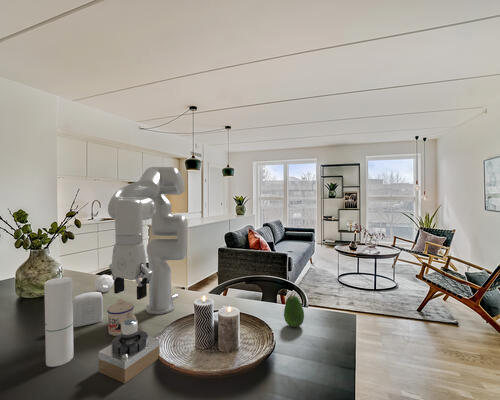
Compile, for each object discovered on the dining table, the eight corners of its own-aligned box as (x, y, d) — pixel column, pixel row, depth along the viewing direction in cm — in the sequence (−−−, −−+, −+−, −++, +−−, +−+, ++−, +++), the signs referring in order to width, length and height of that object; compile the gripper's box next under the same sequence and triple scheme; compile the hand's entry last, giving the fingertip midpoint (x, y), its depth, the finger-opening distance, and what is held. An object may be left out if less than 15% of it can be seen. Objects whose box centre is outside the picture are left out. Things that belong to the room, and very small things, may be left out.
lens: (130, 339, 86) (130, 317, 86) (141, 343, 84) (141, 320, 84) (118, 346, 82) (118, 323, 81) (129, 350, 80) (128, 326, 79)
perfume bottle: (91, 286, 145) (92, 296, 135) (97, 270, 146) (99, 279, 136) (109, 288, 150) (111, 298, 140) (114, 272, 150) (117, 281, 140)
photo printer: (102, 317, 114) (102, 288, 113) (103, 322, 110) (103, 291, 110) (73, 324, 108) (72, 293, 108) (73, 329, 104) (72, 297, 104)
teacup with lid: (102, 333, 101) (101, 302, 101) (122, 322, 109) (122, 294, 109) (125, 340, 96) (124, 308, 96) (144, 328, 104) (144, 299, 104)
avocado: (285, 320, 112) (285, 291, 111) (305, 323, 109) (305, 294, 109) (282, 329, 104) (282, 299, 104) (302, 333, 102) (302, 301, 101)
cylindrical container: (69, 350, 90) (67, 275, 90) (77, 358, 86) (75, 280, 85) (42, 360, 85) (41, 281, 84) (49, 369, 80) (48, 286, 80)
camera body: (135, 348, 91) (134, 325, 91) (159, 357, 86) (159, 333, 86) (98, 371, 79) (98, 345, 79) (124, 383, 75) (124, 355, 74)
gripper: (98, 239, 82) (100, 294, 83) (139, 244, 75) (140, 305, 76) (120, 235, 89) (121, 286, 90) (159, 240, 81) (160, 295, 82)
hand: (130, 294), depth 83 cm, fingers open, 9 cm apart
